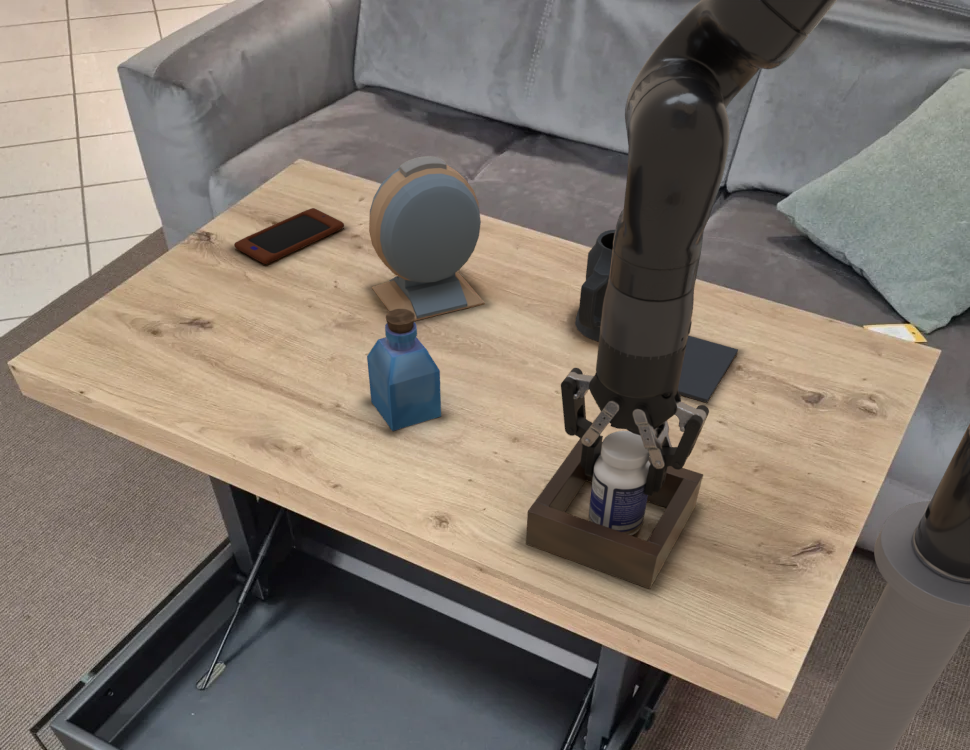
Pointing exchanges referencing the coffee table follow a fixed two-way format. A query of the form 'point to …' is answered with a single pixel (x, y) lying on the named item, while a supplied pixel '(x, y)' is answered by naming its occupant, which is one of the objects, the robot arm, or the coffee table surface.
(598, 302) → the black vase
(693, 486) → the walnut box
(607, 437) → the pill bottle
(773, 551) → the coffee table surface
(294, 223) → the smartphone
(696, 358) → the rubber mat
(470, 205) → the alarm clock
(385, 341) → the perfume bottle
